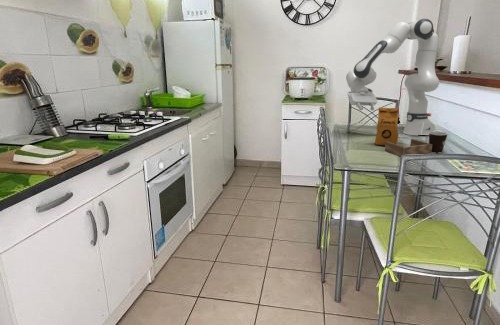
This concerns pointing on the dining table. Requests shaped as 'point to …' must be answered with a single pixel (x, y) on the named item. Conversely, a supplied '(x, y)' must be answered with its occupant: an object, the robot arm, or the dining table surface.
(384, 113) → the coffee package
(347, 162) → the dining table surface
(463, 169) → the dining table surface
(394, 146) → the frame
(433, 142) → the coffee mug
